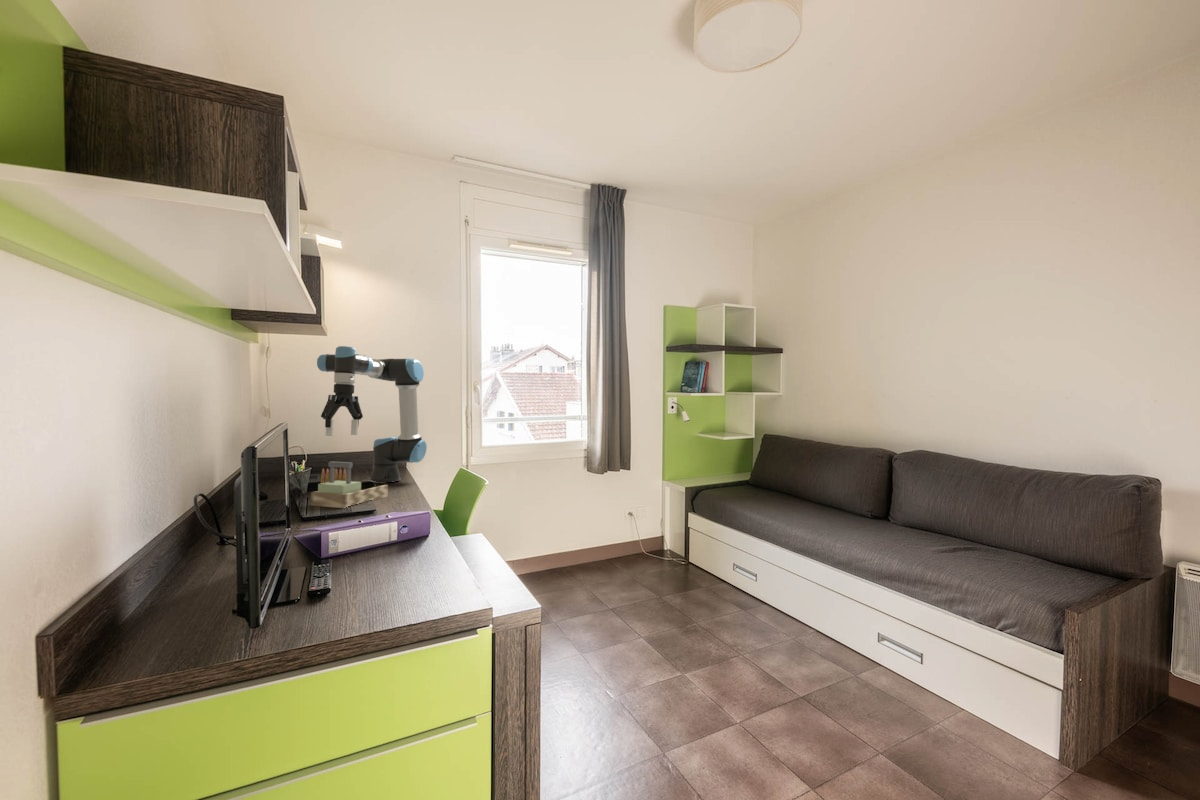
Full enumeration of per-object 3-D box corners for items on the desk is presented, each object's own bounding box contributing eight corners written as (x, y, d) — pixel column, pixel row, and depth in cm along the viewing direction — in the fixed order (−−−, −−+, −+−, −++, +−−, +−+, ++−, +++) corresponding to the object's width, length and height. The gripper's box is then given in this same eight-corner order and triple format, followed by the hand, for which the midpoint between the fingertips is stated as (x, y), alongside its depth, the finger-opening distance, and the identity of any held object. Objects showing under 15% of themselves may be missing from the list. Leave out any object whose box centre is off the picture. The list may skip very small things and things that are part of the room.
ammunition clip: (346, 494, 223) (347, 467, 223) (345, 494, 221) (346, 468, 221) (320, 494, 221) (321, 467, 221) (319, 495, 219) (320, 468, 219)
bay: (356, 494, 223) (357, 482, 223) (387, 496, 219) (387, 484, 219) (310, 505, 197) (310, 492, 197) (344, 508, 194) (344, 495, 194)
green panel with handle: (336, 496, 208) (337, 460, 208) (360, 498, 205) (361, 461, 205) (317, 501, 198) (318, 462, 198) (343, 503, 196) (344, 464, 196)
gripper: (328, 381, 191) (325, 436, 190) (372, 386, 215) (371, 434, 214) (312, 381, 193) (309, 435, 192) (358, 385, 217) (356, 434, 216)
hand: (342, 435), depth 203 cm, fingers open, 13 cm apart
